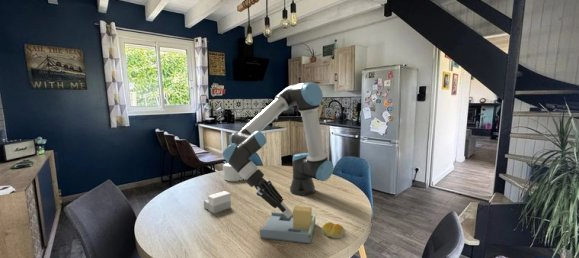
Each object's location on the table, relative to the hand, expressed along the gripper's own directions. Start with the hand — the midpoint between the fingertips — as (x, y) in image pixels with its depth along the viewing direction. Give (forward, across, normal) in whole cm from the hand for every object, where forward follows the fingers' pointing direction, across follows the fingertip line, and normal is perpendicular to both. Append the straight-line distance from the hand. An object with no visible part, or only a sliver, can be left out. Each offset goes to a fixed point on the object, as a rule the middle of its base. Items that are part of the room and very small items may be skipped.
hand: (290, 215), depth 101 cm
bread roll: (+17, -2, +7) cm, 19 cm away
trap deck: (+4, 0, -5) cm, 7 cm away
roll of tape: (-34, -64, -44) cm, 84 cm away
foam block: (-27, -13, -37) cm, 48 cm away
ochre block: (+6, 0, +1) cm, 6 cm away
